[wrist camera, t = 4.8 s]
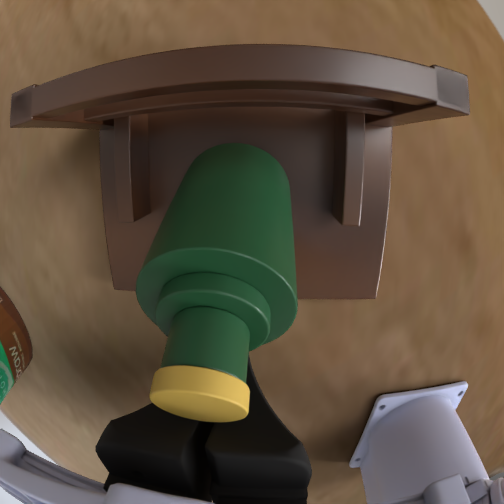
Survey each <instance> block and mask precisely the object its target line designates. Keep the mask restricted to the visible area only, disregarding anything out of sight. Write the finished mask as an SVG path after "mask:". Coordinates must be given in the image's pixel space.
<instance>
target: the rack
mask: <svg viewBox="0 0 504 504" xmlns="http://www.w3.org/2000/svg"><path fill="white" fill-rule="evenodd" d="M465 115H470V106H469V90H468V79H467V75H464V74H461V73H459V72H456V71H453V70H450V69H447V68H444V67H440V66H437V65H431V66H425V65H421V64H418V63H414V62H410V61H406V60H401V59H397V58H392V57H387V56H382V55H377V54H372V53H366V52H360V51H353V50H346V49H338V48H329V47H319V46H306V45H287V44H238V45H219V46H207V47H196V48H187V49H179V50H172V51H165V52H159V53H153V54H148V55H142V56H137V57H132V58H128V59H123V60H119V61H115V62H111V63H107V64H103V65H99V66H96V67H92V68H88V69H85V70H82V71H79V72H75V73H72V74H69V75H66V76H63V77H60V78H57V79H55V80H52V81H49V82H47V83H44V84H41V85H35V84H34V85H31V86H29V87H27V88H24V89H22V90H20V91H18V92H15V93H13V94H12V99H11V115H10V128H74V129H93V130H100V170H101V188H102V201H103V213H104V223H105V232H106V240H107V247H108V255H109V261H110V268H111V274H112V280H113V286H114V289H116V290H128V291H136V281H137V277H138V274H139V272H140V270H141V267H142V265H143V263H144V260H145V258H146V256H147V253H148V251H149V249H150V247H151V244H152V242H153V240H154V238H155V235H156V233H157V231H158V229H159V227H160V225H161V222H162V220H163V218H164V216H165V214H166V212H167V210H168V208H169V206H170V204H171V202H172V200H173V198H174V196H175V194H176V192H177V190H178V188H179V186H180V184H181V182H182V180H183V178H184V176H185V174H186V172H187V170H188V168H189V167H190V165H191V163H192V162H193V161H194V160H195V158H197V157H198V156H199V155H200V154H201V153H203V152H204V151H205V150H207V149H209V148H211V147H214V146H217V145H221V144H226V143H243V144H248V145H252V146H255V147H258V148H260V149H262V150H264V151H266V152H267V153H269V154H270V155H271V156H273V157H274V158H275V159H276V160H277V161H278V162H279V163H280V165H281V166H282V167H283V169H284V171H285V173H286V175H287V177H288V180H289V186H290V196H291V208H292V221H293V234H294V249H295V265H296V283H297V299H376V295H377V289H378V283H379V278H380V271H381V265H382V258H383V251H384V244H385V236H386V227H387V218H388V208H389V196H390V182H391V164H392V127H393V126H398V125H404V124H410V123H416V122H422V121H428V120H435V119H442V118H449V117H457V116H465Z"/></svg>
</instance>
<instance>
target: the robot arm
mask: <svg viewBox="0 0 504 504" xmlns="http://www.w3.org/2000/svg"><path fill="white" fill-rule="evenodd" d="M246 384H247V386H248V387H249V390H250V398H249V412H248V415H247V416H246V417H245V418H243V419H241V420H237V421H232V422H205V421H198V420H193V419H188V418H184V417H181V416H177V415H174V414H172V413H169V412H167V411H165V410H163V409H161V408H159V407H157V406H156V405H155V404H153V403H151V404H149V405H147V406H145V407H144V408H141V409H139V410H137V411H135V412H133V413H130V414H128V415H125V416H122V417H120V418H117V419H114V420H111V421H110V423H109V424H108V425H107V427H106V428H105V430H104V432H103V433H102V435H101V437H100V439H99V441H98V443H97V445H96V453H97V455H98V457H99V458H100V460H101V461H102V463H103V464H104V466H105V467H106V469H107V470H108V471H109V475H108V477H107V480H106V482H105V484H103V483H100V482H97V481H95V480H92V479H89V478H87V477H84V476H82V475H79V474H77V473H74V472H72V471H69V470H67V469H65V468H62V467H60V466H58V465H56V464H54V463H51V462H49V461H47V460H45V459H43V458H41V457H39V456H37V455H35V454H34V453H31V452H29V451H28V450H26V448H25V446H24V445H23V443H22V442H21V441H20V440H19V439H17V438H16V437H15V436H13V435H11V434H10V433H8V432H6V431H4V430H3V429H0V486H1V487H2V488H3V489H4V490H5V491H6V492H8V493H9V494H11V495H12V496H14V497H15V498H16V499H18V500H19V501H21V502H22V503H24V504H307V497H308V492H307V487H308V484H309V481H310V478H311V475H312V469H311V464H310V461H309V458H308V455H307V453H306V451H305V448H304V446H303V444H302V442H301V441H299V440H298V439H297V438H296V437H295V436H294V435H293V434H292V433H291V432H290V431H289V430H288V429H287V427H286V426H285V425H284V424H283V423H282V422H281V420H280V419H279V418H278V416H277V415H276V414H275V413H274V411H273V410H272V408H271V407H270V405H269V404H268V402H267V400H266V399H265V397H264V395H263V393H262V391H261V389H260V387H259V385H258V383H257V380H256V378H255V375H254V372H253V369H252V366H251V363H250V358H249V353H248V366H247V378H246ZM467 387H468V384H467V382H466V381H462V382H458V383H453V384H448V385H443V386H438V387H432V388H426V389H420V390H414V391H407V392H399V393H391V394H384V395H381V396H379V397H378V398H377V399H376V402H375V404H374V407H373V410H372V412H371V415H370V417H369V420H368V422H367V424H366V427H365V429H364V432H363V434H362V436H361V438H360V441H359V443H358V445H357V447H356V450H355V452H354V454H353V456H352V458H351V460H350V462H349V466H350V467H351V468H355V467H360V468H361V473H362V478H363V483H364V489H365V494H366V499H367V504H504V478H498V479H496V480H495V481H492V480H489V477H488V475H487V473H486V470H485V468H484V466H483V464H482V462H481V460H480V458H479V456H478V454H477V451H476V449H475V447H474V445H473V443H472V441H471V439H470V437H469V436H468V434H467V432H466V430H465V428H464V426H463V424H462V422H461V420H460V418H459V417H458V415H457V413H456V411H455V409H456V408H457V406H458V404H459V402H460V401H461V399H462V397H463V395H464V393H465V391H466V389H467ZM381 405H382V406H381ZM212 500H213V503H212Z"/></svg>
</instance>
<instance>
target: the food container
mask: <svg viewBox="0 0 504 504" xmlns="http://www.w3.org/2000/svg"><path fill="white" fill-rule="evenodd" d="M31 359H32V345H31V340H30V337H29V334H28V331H27V329H26V326H25V324H24V322H23V320H22V318H21V316H20V314H19V313H18V311H17V309H16V308H15V306H14V304H13V303H12V301H11V300H10V299H9V297H8V296H7V294H6V293H5V292H4V291H3V290H2V288H1V287H0V404H1V402H2V401H3V399H4V398H5V396H6V395H7V394H8V392H9V391H10V389H11V388H12V387H13V385H14V384H15V382H16V381H17V380H18V378H19V377H20V376H21V374H22V373H23V372H24V370H25V369H26V368H27V366H28V365H29V363H30V361H31Z"/></svg>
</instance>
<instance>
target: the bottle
mask: <svg viewBox="0 0 504 504" xmlns="http://www.w3.org/2000/svg"><path fill="white" fill-rule="evenodd" d="M136 295H137V299H138V302H139V304H140V306H141V308H142V310H143V311H144V312H145V314H146V315H147V316H148V317H149V318H150V319H151V320H152V322H154V323H155V324H156V325H157V326H158V327H159V328H160V329H161V331H162V332H163V333H164V334H165V335H166V336H167V337H168V339H167V343H166V347H165V351H164V355H163V359H162V363H161V367H160V369H159V370H157V371H156V372H155V374H154V377H153V382H152V386H151V390H150V394H149V397H150V400H151V401H152V403H153V404H155V405H156V406H157V407H159V408H161V409H163V410H165V411H167V412H169V413H172V414H174V415H177V416H181V417H184V418H188V419H193V420H198V421H205V422H232V421H237V420H241V419H243V418H245V417H246V416H247V415H248V412H249V398H250V390H249V387H248V386H247V384H246V378H247V366H248V353H249V351H252V350H254V349H256V348H258V347H259V346H261V345H263V344H266V343H268V342H271V341H273V340H275V339H277V338H278V337H280V336H281V335H282V334H284V333H285V332H286V331H287V330H288V329H289V328H290V326H291V325H292V323H293V321H294V319H295V317H296V314H297V306H298V302H297V283H296V265H295V249H294V234H293V221H292V208H291V196H290V186H289V180H288V177H287V175H286V173H285V171H284V169H283V167H282V166H281V165H280V163H279V162H278V161H277V160H276V159H275V158H274V157H273V156H271V155H270V154H269V153H267V152H266V151H264V150H262V149H260V148H258V147H255V146H252V145H248V144H243V143H226V144H221V145H217V146H214V147H211V148H209V149H207V150H205V151H204V152H203V153H201V154H200V155H199V156H198V157H197V158H195V160H194V161H193V162H192V163H191V165H190V167H189V168H188V170H187V172H186V174H185V176H184V178H183V180H182V182H181V184H180V186H179V188H178V190H177V192H176V194H175V196H174V198H173V200H172V202H171V204H170V206H169V208H168V210H167V212H166V214H165V216H164V218H163V220H162V222H161V225H160V227H159V229H158V231H157V233H156V235H155V238H154V240H153V242H152V244H151V247H150V249H149V251H148V253H147V256H146V258H145V260H144V263H143V265H142V267H141V270H140V272H139V274H138V277H137V281H136Z"/></svg>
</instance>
